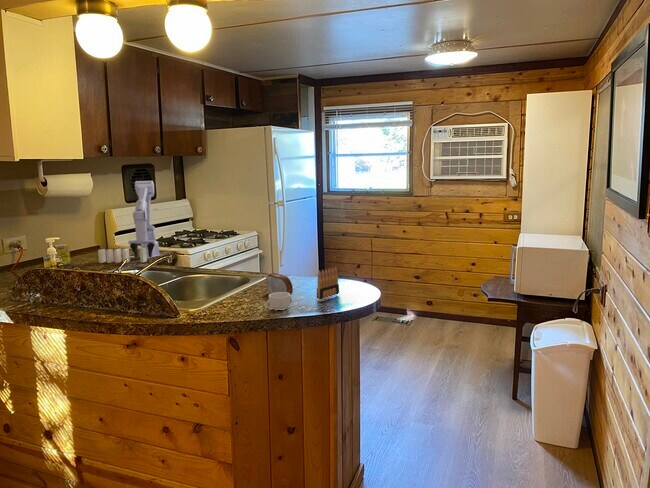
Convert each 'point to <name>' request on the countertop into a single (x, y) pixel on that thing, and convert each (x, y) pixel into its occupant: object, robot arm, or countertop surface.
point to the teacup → (279, 300)
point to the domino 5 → (143, 255)
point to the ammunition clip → (327, 283)
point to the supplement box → (63, 253)
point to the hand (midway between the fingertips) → (143, 256)
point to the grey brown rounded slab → (278, 283)
